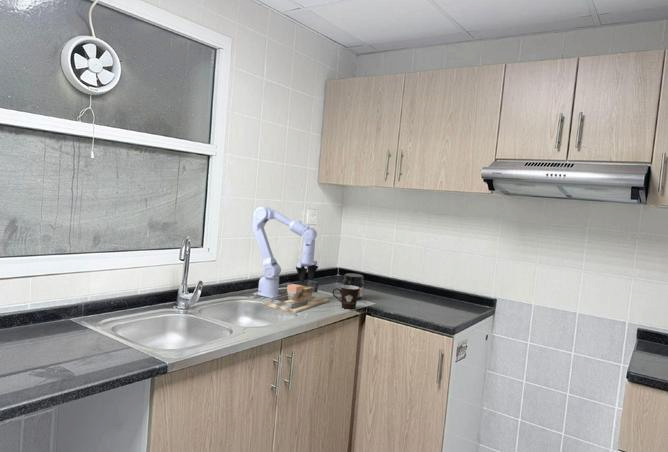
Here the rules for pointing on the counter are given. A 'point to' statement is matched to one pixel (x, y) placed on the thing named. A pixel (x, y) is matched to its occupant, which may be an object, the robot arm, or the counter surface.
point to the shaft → (310, 284)
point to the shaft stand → (297, 301)
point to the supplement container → (355, 282)
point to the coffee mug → (348, 296)
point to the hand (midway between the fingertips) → (306, 280)
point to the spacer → (294, 288)
